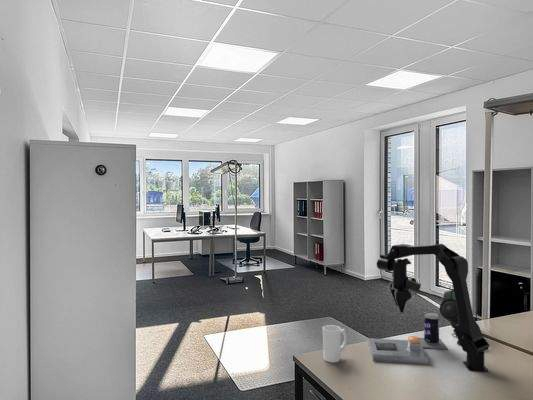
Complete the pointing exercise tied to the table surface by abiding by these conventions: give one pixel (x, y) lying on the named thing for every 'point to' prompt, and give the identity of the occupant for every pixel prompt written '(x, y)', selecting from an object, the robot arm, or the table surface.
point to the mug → (333, 342)
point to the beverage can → (431, 328)
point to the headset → (450, 309)
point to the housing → (397, 351)
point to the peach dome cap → (414, 340)
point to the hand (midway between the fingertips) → (399, 309)
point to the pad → (437, 346)
